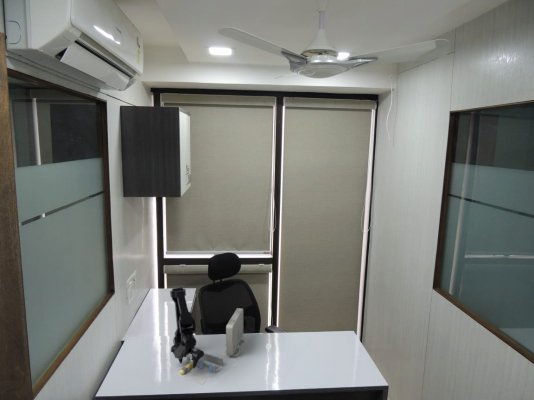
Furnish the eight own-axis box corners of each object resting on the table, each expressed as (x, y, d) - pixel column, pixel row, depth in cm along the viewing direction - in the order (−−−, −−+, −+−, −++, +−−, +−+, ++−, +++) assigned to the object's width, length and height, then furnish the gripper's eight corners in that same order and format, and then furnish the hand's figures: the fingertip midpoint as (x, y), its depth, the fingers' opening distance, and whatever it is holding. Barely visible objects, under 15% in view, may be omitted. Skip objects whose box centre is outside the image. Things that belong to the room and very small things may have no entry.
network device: (236, 360, 198) (236, 327, 196) (221, 358, 200) (221, 326, 197) (246, 337, 223) (246, 308, 221) (233, 336, 225) (233, 306, 222)
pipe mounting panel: (174, 375, 185) (173, 366, 184) (195, 357, 201) (195, 348, 200) (202, 385, 176) (202, 376, 175) (223, 366, 192) (222, 357, 192)
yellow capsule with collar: (183, 375, 183) (182, 371, 183) (179, 374, 184) (178, 370, 184) (196, 364, 193) (196, 360, 192) (192, 363, 194) (192, 359, 194)
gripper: (163, 341, 183) (164, 368, 185) (190, 350, 175) (191, 379, 177) (177, 332, 193) (178, 358, 195) (204, 340, 185) (204, 367, 187)
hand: (187, 365), depth 188 cm, fingers open, 9 cm apart
